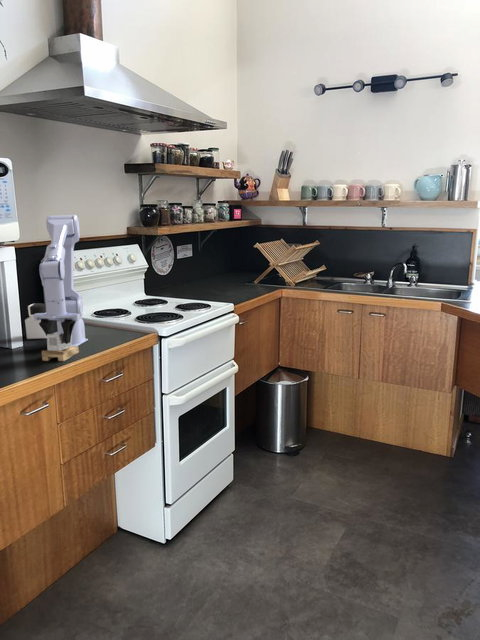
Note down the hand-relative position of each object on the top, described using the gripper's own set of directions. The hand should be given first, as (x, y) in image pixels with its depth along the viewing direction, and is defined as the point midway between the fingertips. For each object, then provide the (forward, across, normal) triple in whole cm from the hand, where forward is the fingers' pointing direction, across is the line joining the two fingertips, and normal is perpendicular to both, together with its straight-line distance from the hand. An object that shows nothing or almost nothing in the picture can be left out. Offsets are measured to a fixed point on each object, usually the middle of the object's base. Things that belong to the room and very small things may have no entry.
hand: (59, 342), depth 164 cm
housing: (+2, 0, 0) cm, 2 cm away
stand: (+4, 0, 0) cm, 4 cm away
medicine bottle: (+5, -21, +24) cm, 32 cm away
